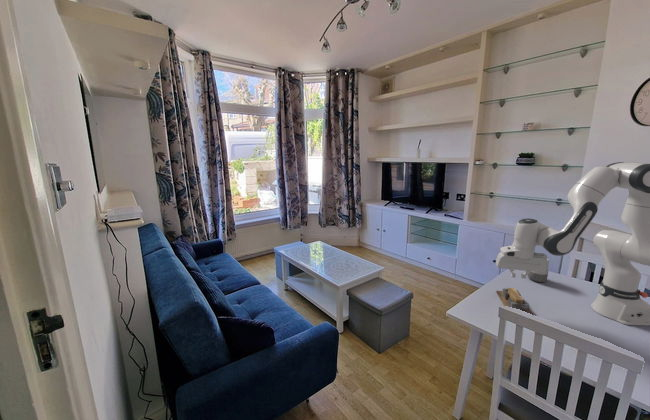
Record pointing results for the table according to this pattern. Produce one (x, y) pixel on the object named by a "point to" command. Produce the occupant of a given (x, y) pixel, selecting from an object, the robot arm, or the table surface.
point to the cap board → (509, 302)
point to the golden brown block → (514, 295)
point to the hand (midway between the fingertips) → (518, 277)
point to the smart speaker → (539, 274)
